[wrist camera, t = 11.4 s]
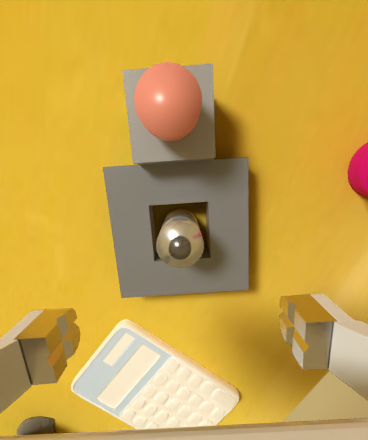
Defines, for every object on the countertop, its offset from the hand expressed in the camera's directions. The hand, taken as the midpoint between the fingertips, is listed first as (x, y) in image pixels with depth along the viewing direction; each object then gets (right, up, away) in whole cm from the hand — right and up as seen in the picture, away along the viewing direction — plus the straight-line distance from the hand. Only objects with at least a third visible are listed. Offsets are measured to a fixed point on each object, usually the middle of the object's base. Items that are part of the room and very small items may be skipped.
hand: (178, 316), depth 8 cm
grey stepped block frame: (0, +7, +16) cm, 17 cm away
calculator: (-4, -19, +22) cm, 29 cm away
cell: (0, +3, +16) cm, 17 cm away
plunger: (-1, +12, +7) cm, 14 cm away
